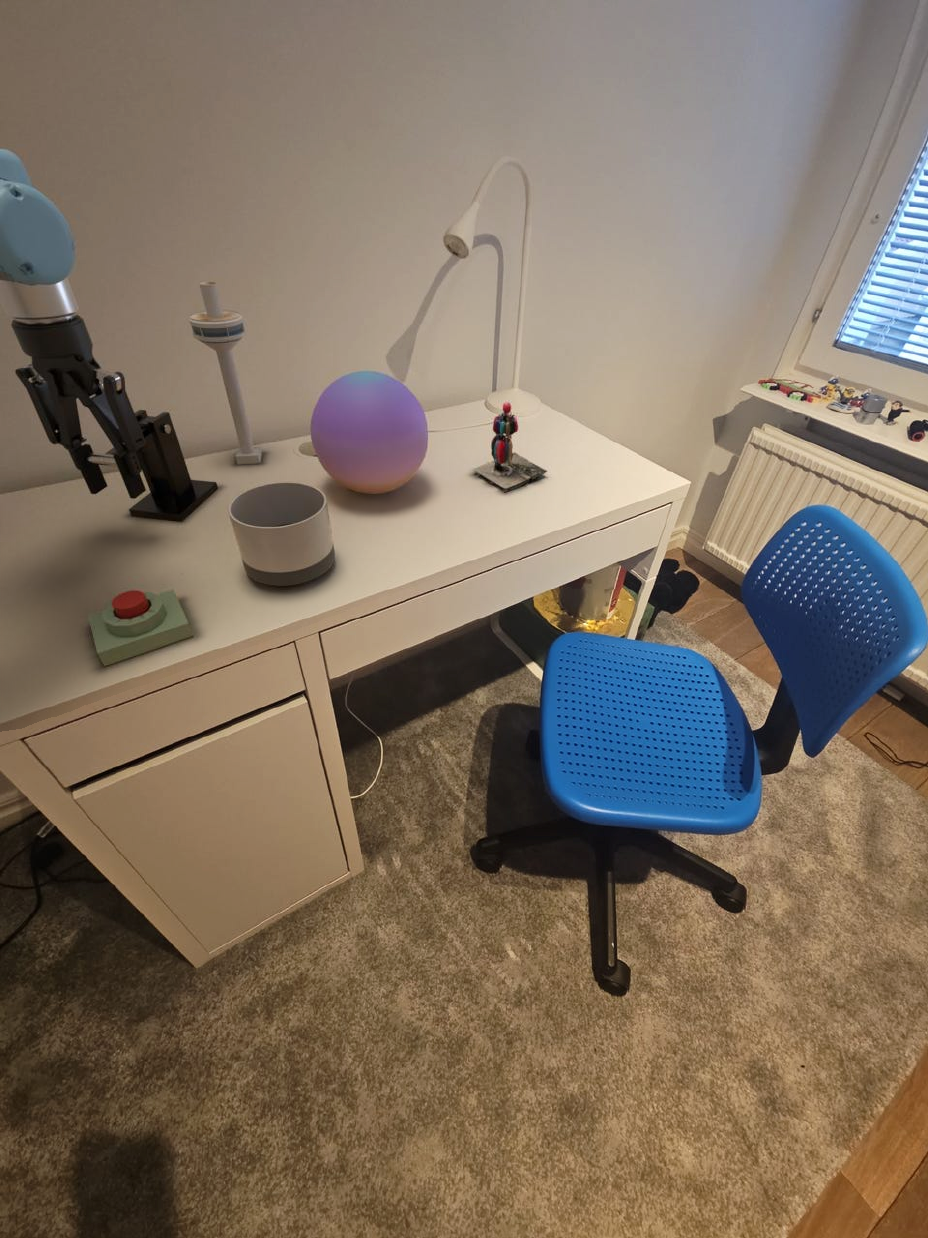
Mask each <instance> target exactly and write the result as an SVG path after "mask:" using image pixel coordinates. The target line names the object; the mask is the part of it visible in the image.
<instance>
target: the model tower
mask: <svg viewBox="0 0 928 1238" xmlns="http://www.w3.org/2000/svg"><path fill="white" fill-rule="evenodd" d="M198 285H199V289H200V293H201V297H202V302H203V305H204V308H205V310H202V311H196V312H193V313H191V314H190V315H189V318H188V321H189V325H190V326H191V329H192V336H193V338H194V339H196V340H197V341H199V342H201V343H202V344H204V345H205V346H207V347H209V348H210V349H211V350H213V351H215V352H216V357H217V360H218V364H219V368H220V373H221V377H222V380H223V384H224V388H225V392H226V396H227V397H226V398H227V401H228V405H229V408H230V413H231V416H232V421H233V424H234V425H233V426H234V428H235V433H236V436H237V440H238V444H239V447H237V450H236V454H235V460H236V464H237V465H254V464H256V465H257V464H261V460H262V455H263V454H262V449H261V446H260V445H259V446H254V442H253V438H252V433H251V430H250V429H251V428H250V425H249V419H248V416H247V412H246V407H245V403H244V399H243V395H242V389H241V385H240V382H239V378H238V373H237V369H236V365H235V359H234V356H233V352H232V350H233V349H234V348H235V347H236V345H238V343H239V342H240V341H241V340H242V339H243V338H244V336H245V335H246V330H245V327H244V326H245V325H244V321H243V316H242V315H241V313H240V312H238V311H235V310H228V309H223V308H222V305H221V304H222V303H221V300H220V296H219V292H218V287H217V283H216V282H215V281H214V282H213V281H202V282H199V283H198Z"/></svg>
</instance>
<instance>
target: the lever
mask: <svg viewBox="0 0 928 1238" xmlns="http://www.w3.org/2000/svg"><path fill="white" fill-rule="evenodd" d="M154 417H155V416H153V415H147V416H145V417H144V418H142V419H141V420H139V421H138V423H139V426H140V428H141V431H142V433H143V436H144V438H150V439H153V437H152V435H151V432H150V429H149V426H148V423H147V422H148V421H150V420H151V419H153V418H154ZM123 444H124V442H123ZM115 453H117V451H116V449H115V448H114V447H112V448H110V449H109V450H108V451H107V452H105V453H97V452H93V453H89V452H88V453H86V454H85V456H84V459H85V461H86V462H87V463H88V464H96V465H99V466H107V467H116V468H118V466H117V464H116V462H115V459H114V457H113V455H114V454H115Z"/></svg>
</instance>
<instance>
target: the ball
mask: <svg viewBox="0 0 928 1238" xmlns="http://www.w3.org/2000/svg"><path fill="white" fill-rule="evenodd" d="M428 427H429V426H428V420H427V417H426V413H425V411H424V409H423V406H422V405H421V403H420V401H419V399H418V398H417V397H416V396H415V395H414V393H413V392H412V391H411V390H410V389H409V388H408V387H407V385H405V384H404V383H403V382H401V380H398V379H396V378H395V377H393V376H391V375H389V374H386V373H383V372H380V371H379V372H378V371H374V370H360V371H359V370H358V371H353V372H350V373H348V374H345V375H342V376H340V377H339V378H337V379H335V380H333V382H331V383H330V384H329V385H328V386H327V387H326V388H324V389H323V392H322V393H321V394H320V396H319V397H318V400H317V402H316V404H315V407H314V408H313V411H312V414H311V420H310V428H309V429H310V439H311V444H312V447H313V449H314V452H315V454H316V456H317V460H318V462H319V463H320V465H321V467H322V468H323V470H324V471H325V472H326V473H327V474H328V475H329V477H331V478H332V479H333V480H335V481H336V482H337V483H338V484H340V486H342V487H344V488H346V489H348V490H350V491H354V492H356V493H361V494H366V495H380V494H385V493H388V492H391V491H394V490H397V489H399V488H401V487H402V486H404V485H405V484H407V483H408V482H409V481H410V480H411V479H412V478H413V477H414V476H415V475H416V474H417V472H418V471H419V469H420V467H421V466H422V465H423V463H424V461H425V458H426V455H427V451H428V443H429V428H428Z"/></svg>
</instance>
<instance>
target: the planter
mask: <svg viewBox="0 0 928 1238" xmlns="http://www.w3.org/2000/svg"><path fill="white" fill-rule="evenodd" d="M227 512H228V516H229V519H230V523H231V527H232V530H233V534H234V537H235V540H236V544H237V547H238V550H239V555H240V558H241V561H242V564H243V568H244V571H245V573H246V575H247V576H249V577H250V578H251V579H252V580H253V581H255V582H258V583H261V584H263V585H269V586H277V587H279V586H280V587H285V586H287V587H288V586H295V585H300V584H304V583H307V582H310V581H312V580H314V579H316V578H318V577H320V576H322V575H324V574H325V573H326V572H327V571H328V570H329V569H330V568H331V567H332V566H333V564H334V563H335V557H336V552H335V546H334V539H333V532H332V526H331V519H330V513H329V506H328V500H327V496H326V494H325V493H324V492H323V490H321V489H320V488H318V487H316V486H314V485H311V484H308V483H304V482H297V481H276V482H275V481H274V482H268V483H264V484H260V485H257V486H253V487H251V488H248V489H246V490H244V491H242V492H241V493H239V494H237V495H236V496H235V497H234V498H233V499H232V500H231V501H230V502H229V504H228V507H227Z"/></svg>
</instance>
